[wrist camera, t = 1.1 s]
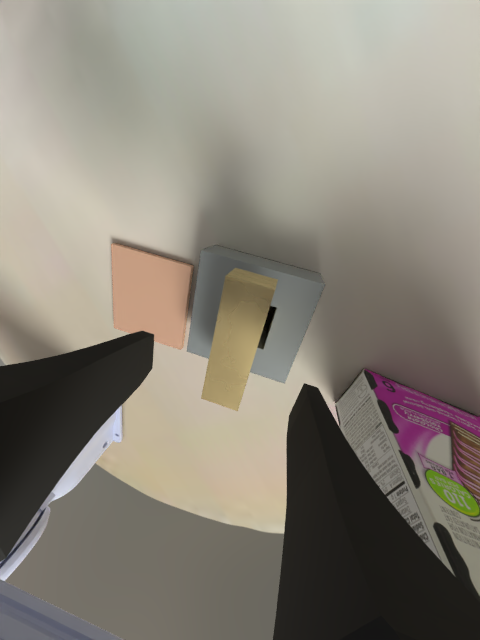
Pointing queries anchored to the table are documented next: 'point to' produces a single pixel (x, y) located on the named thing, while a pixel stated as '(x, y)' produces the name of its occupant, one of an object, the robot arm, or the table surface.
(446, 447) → the candy bar box
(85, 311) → the table surface
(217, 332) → the brass rectangular peg
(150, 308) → the terracotta pad
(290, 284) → the slate socket block
